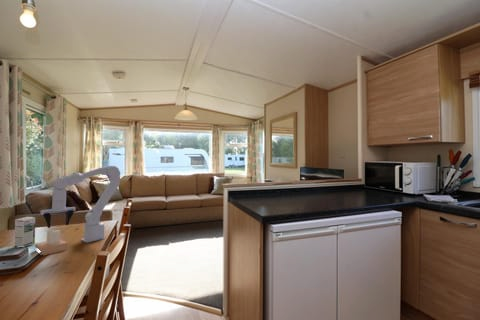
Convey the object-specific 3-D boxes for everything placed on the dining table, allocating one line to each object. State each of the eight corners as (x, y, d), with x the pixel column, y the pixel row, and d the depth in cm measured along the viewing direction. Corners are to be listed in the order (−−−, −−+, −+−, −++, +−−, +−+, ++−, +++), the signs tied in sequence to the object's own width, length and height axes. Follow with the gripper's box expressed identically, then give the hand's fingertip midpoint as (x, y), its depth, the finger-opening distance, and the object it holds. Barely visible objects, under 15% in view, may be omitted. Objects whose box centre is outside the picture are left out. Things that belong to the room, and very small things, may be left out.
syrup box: (22, 248, 114) (23, 219, 115) (13, 247, 115) (14, 218, 116) (34, 244, 120) (36, 217, 120) (26, 243, 121) (27, 216, 121)
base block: (59, 246, 119) (60, 238, 119) (66, 250, 113) (67, 242, 114) (34, 251, 111) (35, 243, 111) (41, 256, 105) (41, 248, 105)
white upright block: (56, 241, 115) (56, 229, 115) (60, 242, 113) (60, 230, 113) (46, 243, 111) (47, 231, 112) (50, 245, 110) (51, 232, 110)
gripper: (73, 198, 128) (72, 222, 127) (39, 201, 116) (38, 227, 116) (77, 199, 123) (76, 224, 123) (42, 202, 112) (41, 230, 112)
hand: (58, 226), depth 119 cm, fingers open, 7 cm apart
